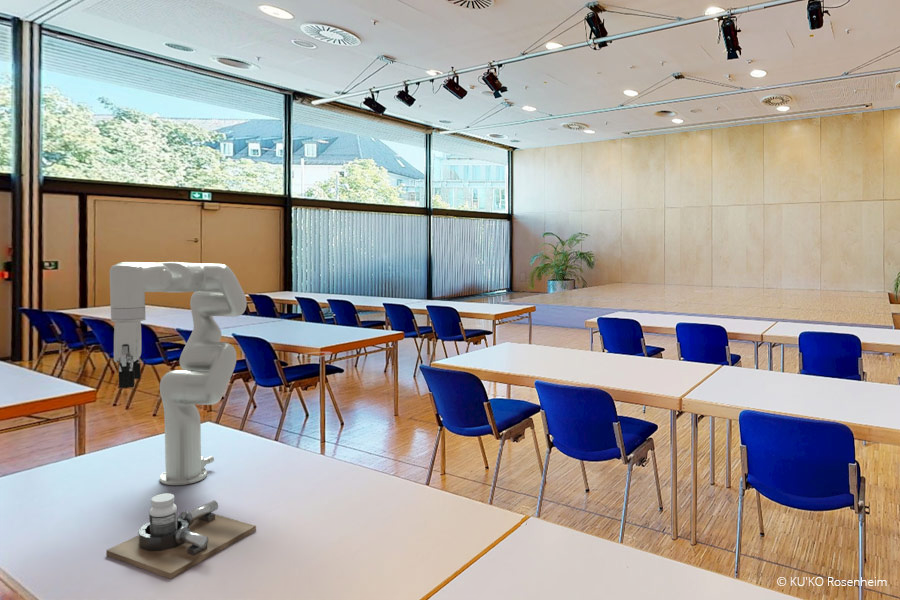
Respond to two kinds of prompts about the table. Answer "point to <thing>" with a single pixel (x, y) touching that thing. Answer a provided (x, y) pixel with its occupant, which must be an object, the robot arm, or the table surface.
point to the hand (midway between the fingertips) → (130, 382)
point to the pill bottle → (163, 515)
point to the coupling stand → (182, 542)
